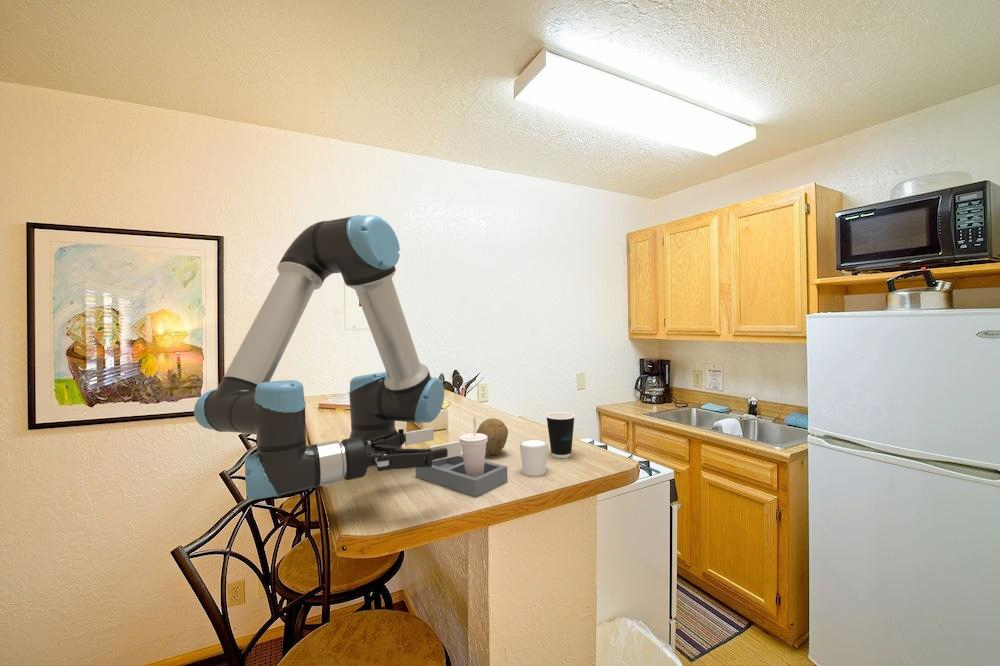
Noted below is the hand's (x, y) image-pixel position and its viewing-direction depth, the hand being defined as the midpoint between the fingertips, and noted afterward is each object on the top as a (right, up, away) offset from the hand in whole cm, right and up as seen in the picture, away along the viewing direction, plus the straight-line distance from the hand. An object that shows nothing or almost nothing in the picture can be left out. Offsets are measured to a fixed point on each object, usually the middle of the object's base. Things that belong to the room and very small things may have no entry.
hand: (445, 440), depth 88 cm
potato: (+9, -11, +25) cm, 29 cm away
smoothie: (+6, -10, +4) cm, 12 cm away
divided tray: (+3, -11, +7) cm, 13 cm away
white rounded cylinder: (+20, -11, +11) cm, 25 cm away
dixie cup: (+28, -10, +22) cm, 37 cm away
